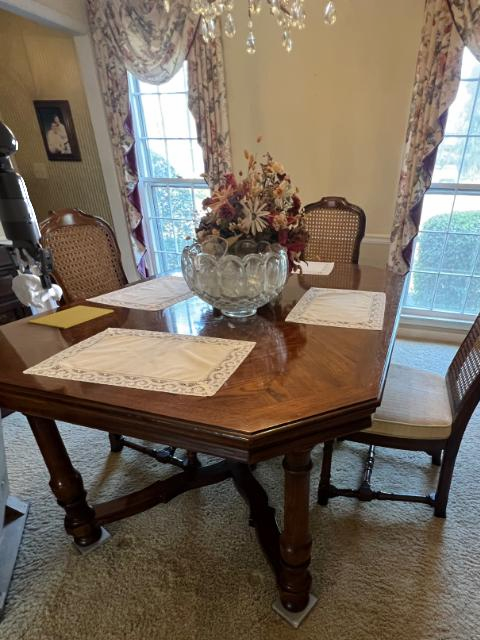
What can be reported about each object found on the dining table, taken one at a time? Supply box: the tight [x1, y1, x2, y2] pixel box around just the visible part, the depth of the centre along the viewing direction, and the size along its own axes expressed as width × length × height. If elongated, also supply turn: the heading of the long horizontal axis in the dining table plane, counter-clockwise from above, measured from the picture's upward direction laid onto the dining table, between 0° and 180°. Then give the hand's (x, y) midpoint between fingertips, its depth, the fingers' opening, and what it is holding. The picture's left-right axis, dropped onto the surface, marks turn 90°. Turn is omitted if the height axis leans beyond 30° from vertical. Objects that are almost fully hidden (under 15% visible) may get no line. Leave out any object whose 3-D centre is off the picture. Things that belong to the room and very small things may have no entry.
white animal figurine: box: [11, 273, 63, 309], centre depth 103 cm, size 6×8×12 cm
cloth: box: [27, 305, 115, 329], centre depth 127 cm, size 20×16×1 cm
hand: (39, 287), depth 102 cm, fingers closed on white animal figurine, 5 cm apart
